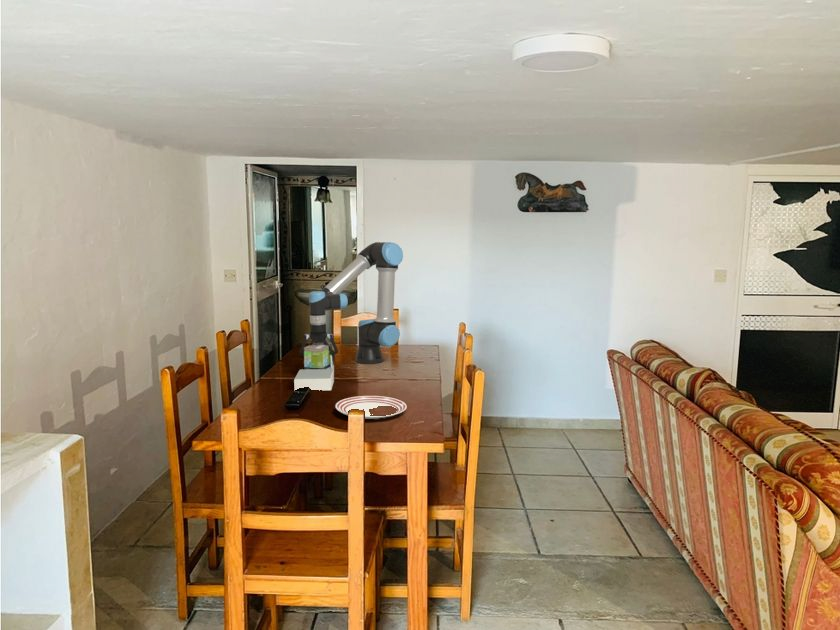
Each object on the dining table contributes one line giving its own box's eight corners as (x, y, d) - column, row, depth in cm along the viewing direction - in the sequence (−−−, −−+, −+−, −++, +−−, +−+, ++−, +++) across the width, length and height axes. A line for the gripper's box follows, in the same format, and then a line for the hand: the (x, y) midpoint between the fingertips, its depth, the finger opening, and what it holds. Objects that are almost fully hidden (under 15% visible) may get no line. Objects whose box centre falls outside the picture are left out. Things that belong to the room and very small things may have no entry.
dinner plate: (406, 402, 235) (406, 394, 235) (407, 424, 208) (407, 415, 208) (339, 402, 235) (339, 395, 234) (331, 424, 207) (331, 415, 207)
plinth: (333, 381, 268) (333, 368, 268) (331, 390, 253) (330, 377, 252) (299, 381, 267) (299, 369, 266) (294, 390, 251) (294, 377, 251)
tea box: (324, 378, 270) (322, 347, 268) (304, 377, 272) (302, 347, 270) (334, 371, 284) (333, 341, 282) (315, 370, 286) (314, 341, 284)
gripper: (292, 325, 270) (293, 370, 273) (342, 324, 271) (343, 369, 275) (294, 322, 277) (296, 366, 280) (343, 321, 279) (344, 365, 282)
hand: (319, 368), depth 277 cm, fingers closed on tea box, 11 cm apart
